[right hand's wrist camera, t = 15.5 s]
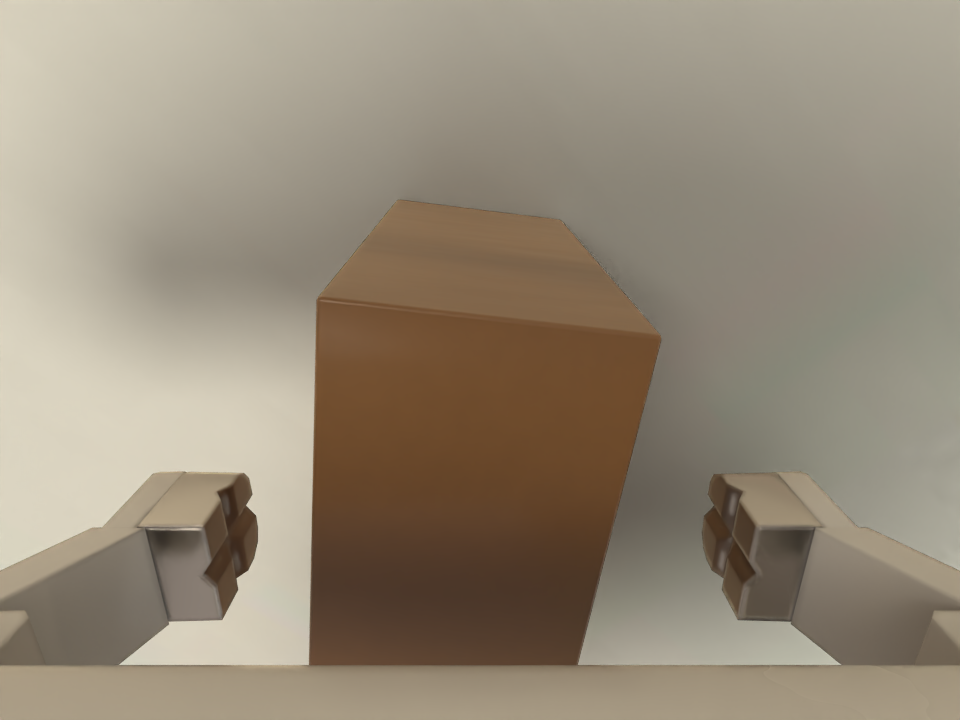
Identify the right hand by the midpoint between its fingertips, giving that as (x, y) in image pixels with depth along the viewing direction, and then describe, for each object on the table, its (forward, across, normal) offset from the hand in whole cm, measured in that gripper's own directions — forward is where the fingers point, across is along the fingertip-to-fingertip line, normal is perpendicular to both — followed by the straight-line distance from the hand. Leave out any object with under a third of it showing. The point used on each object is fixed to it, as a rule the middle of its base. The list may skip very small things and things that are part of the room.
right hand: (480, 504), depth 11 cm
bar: (+8, -2, -10) cm, 13 cm away
